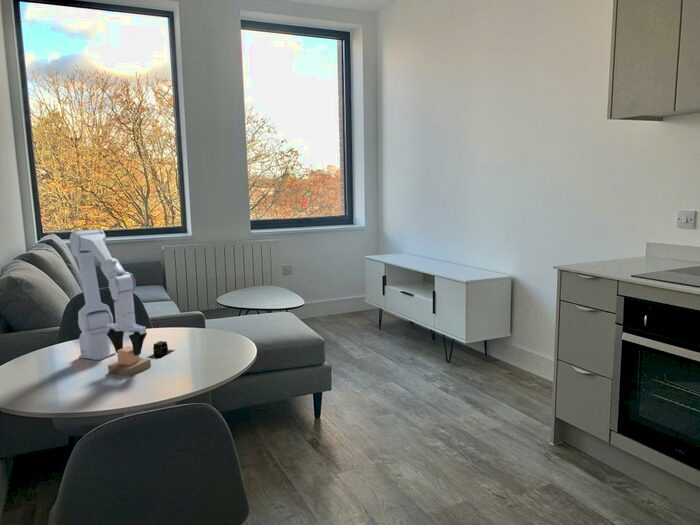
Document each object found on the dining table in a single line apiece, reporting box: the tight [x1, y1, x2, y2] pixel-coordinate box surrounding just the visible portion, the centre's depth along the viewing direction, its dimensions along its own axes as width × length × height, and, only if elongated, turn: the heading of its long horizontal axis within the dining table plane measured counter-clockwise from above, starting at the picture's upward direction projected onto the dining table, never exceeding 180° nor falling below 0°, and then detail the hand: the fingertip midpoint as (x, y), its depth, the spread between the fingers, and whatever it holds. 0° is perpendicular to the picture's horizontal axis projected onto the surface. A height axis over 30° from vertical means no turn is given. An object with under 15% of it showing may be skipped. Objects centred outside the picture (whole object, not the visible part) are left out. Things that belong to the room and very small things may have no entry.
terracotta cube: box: [116, 345, 141, 365], centre depth 173 cm, size 4×4×4 cm
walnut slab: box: [107, 357, 152, 377], centre depth 174 cm, size 9×9×3 cm
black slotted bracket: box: [145, 340, 176, 360], centre depth 189 cm, size 12×7×5 cm, turn 164°
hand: (128, 353), depth 173 cm, fingers open, 7 cm apart
